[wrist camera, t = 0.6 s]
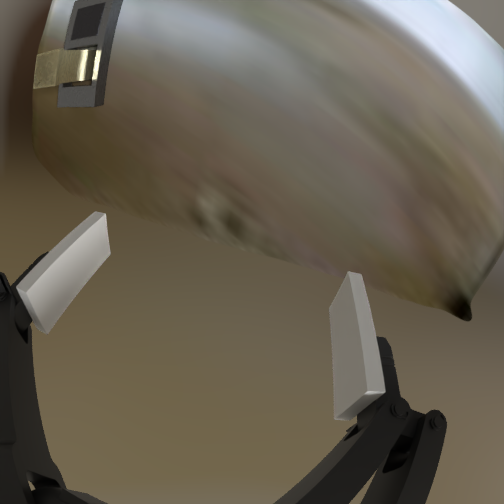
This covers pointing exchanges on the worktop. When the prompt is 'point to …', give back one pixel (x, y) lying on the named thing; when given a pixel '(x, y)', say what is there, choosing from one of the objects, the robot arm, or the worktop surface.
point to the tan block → (63, 67)
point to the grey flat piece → (87, 35)
